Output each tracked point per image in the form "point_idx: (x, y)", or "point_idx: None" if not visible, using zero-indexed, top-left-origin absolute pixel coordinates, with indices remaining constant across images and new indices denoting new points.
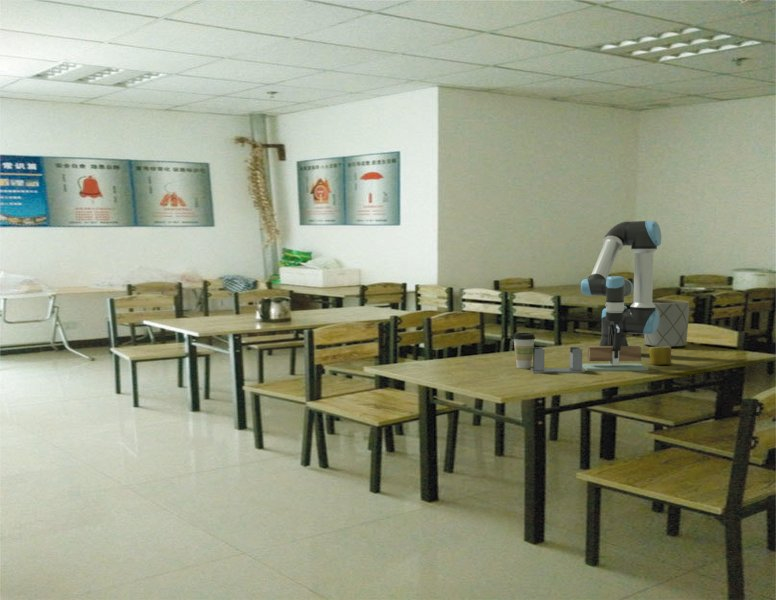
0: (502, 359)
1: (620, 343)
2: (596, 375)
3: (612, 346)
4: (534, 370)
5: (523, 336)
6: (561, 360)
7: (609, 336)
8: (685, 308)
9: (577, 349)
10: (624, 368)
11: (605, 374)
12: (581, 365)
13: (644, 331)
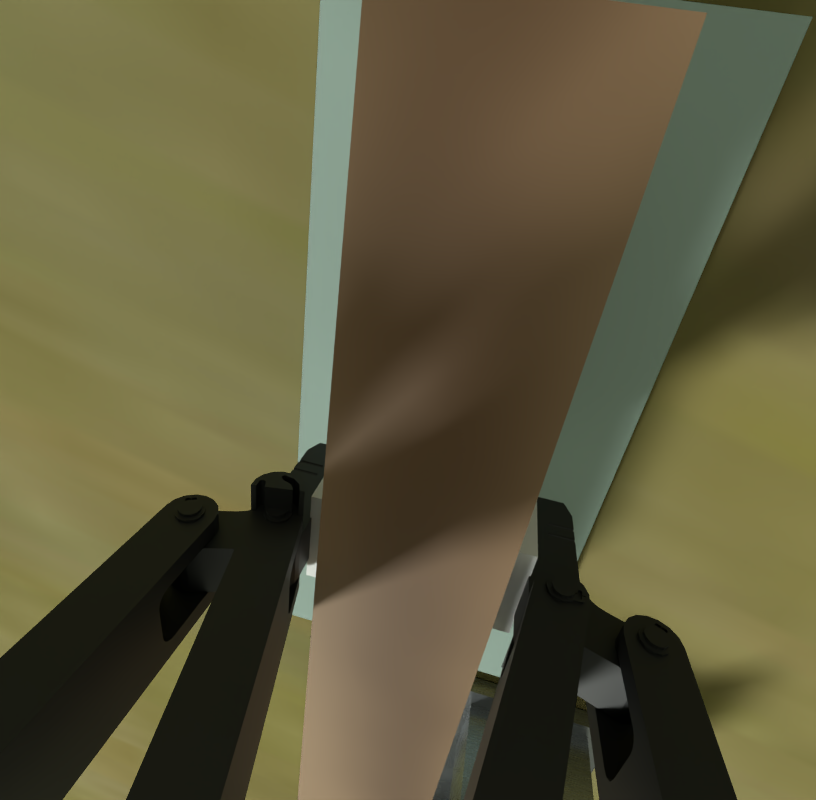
0: (85, 790)
1: (727, 788)
2: (771, 715)
3: (353, 617)
4: None
5: None
6: (65, 595)
7: (81, 763)
8: None
9: None
10: (648, 395)
11: (766, 642)
12: (589, 791)
13: None
